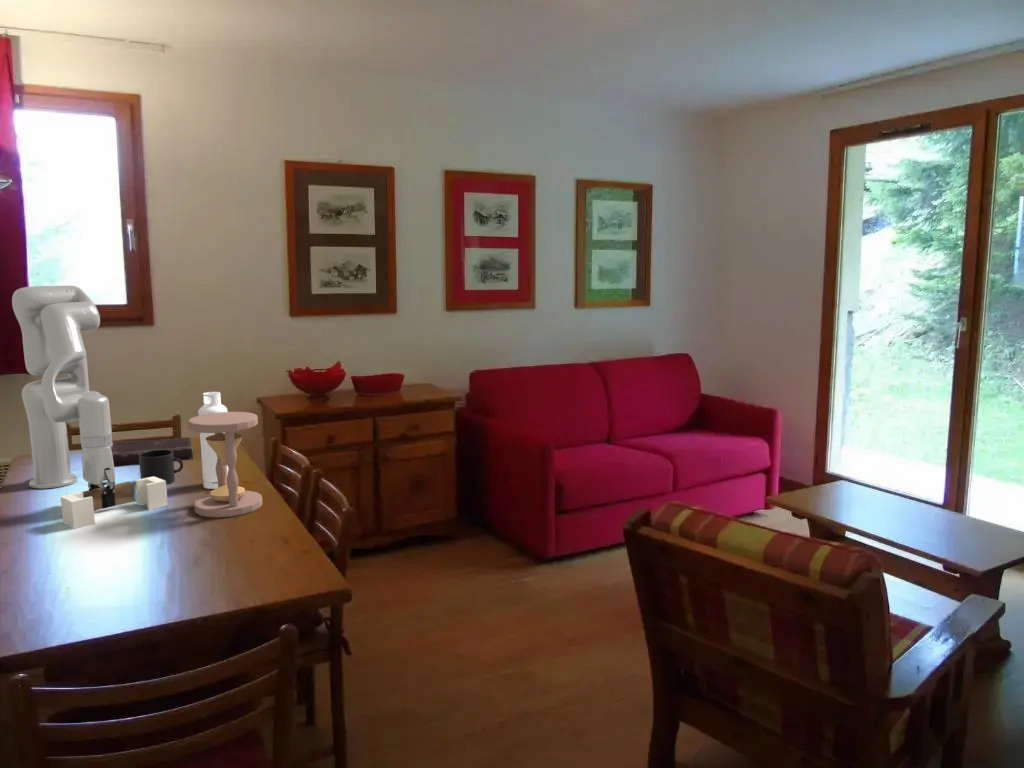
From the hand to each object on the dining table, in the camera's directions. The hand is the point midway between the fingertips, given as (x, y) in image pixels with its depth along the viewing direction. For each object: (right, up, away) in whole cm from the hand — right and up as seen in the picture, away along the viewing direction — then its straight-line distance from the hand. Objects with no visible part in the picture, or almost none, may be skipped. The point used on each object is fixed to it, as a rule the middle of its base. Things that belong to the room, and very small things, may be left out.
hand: (102, 503), depth 210 cm
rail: (0, -1, 0) cm, 1 cm away
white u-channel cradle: (+7, -2, -6) cm, 9 cm away
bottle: (+24, +2, +20) cm, 31 cm away
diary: (-11, +7, +53) cm, 55 cm away
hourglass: (+35, -1, 0) cm, 35 cm away
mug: (+6, +3, +24) cm, 25 cm away
